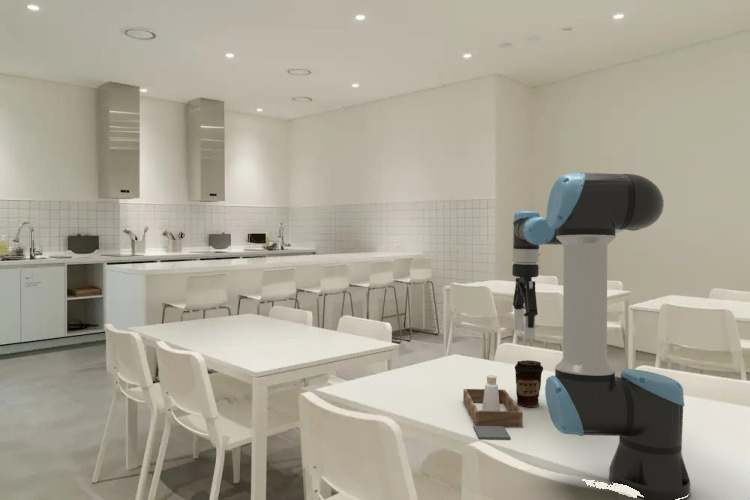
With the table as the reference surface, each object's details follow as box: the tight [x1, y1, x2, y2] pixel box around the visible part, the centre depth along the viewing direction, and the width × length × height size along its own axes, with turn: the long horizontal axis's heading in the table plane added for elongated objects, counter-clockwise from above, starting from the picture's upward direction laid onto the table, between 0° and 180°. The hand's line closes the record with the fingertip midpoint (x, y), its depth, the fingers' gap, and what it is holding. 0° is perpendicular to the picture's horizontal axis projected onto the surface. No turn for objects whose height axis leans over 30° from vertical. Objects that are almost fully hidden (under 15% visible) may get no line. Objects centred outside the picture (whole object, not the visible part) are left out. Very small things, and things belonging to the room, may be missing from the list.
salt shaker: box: [481, 374, 501, 411], centre depth 160 cm, size 5×5×11 cm
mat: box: [472, 425, 512, 441], centre depth 145 cm, size 8×8×1 cm
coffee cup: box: [514, 359, 544, 408], centre depth 169 cm, size 9×8×13 cm
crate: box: [462, 388, 524, 428], centre depth 160 cm, size 22×13×4 cm, turn 0°
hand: (523, 334), depth 167 cm, fingers open, 13 cm apart
